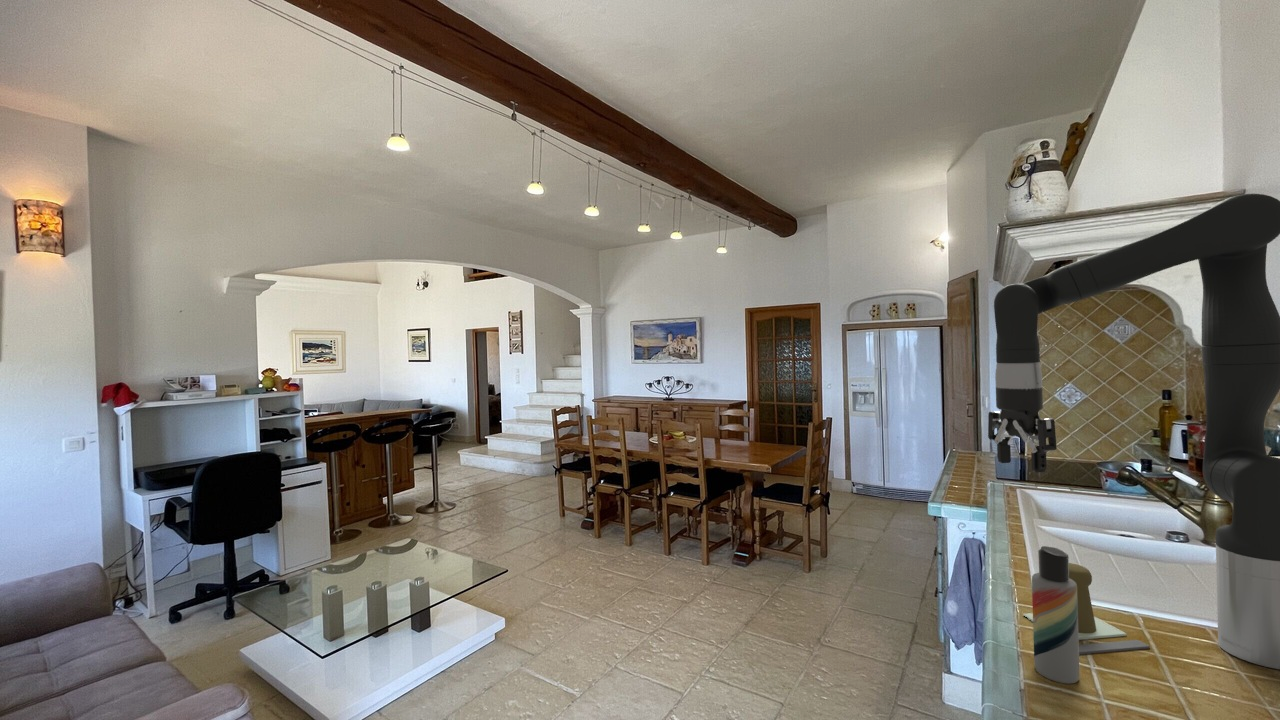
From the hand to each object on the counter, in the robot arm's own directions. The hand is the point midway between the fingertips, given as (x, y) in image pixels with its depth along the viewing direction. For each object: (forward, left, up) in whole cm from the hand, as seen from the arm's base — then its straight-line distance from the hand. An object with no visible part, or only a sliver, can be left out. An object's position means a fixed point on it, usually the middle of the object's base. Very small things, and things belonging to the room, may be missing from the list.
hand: (1020, 467), depth 105 cm
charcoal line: (-1, +15, -28) cm, 32 cm away
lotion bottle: (+12, +20, -28) cm, 37 cm away
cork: (-3, +8, -28) cm, 29 cm away
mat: (-3, +8, -28) cm, 29 cm away
